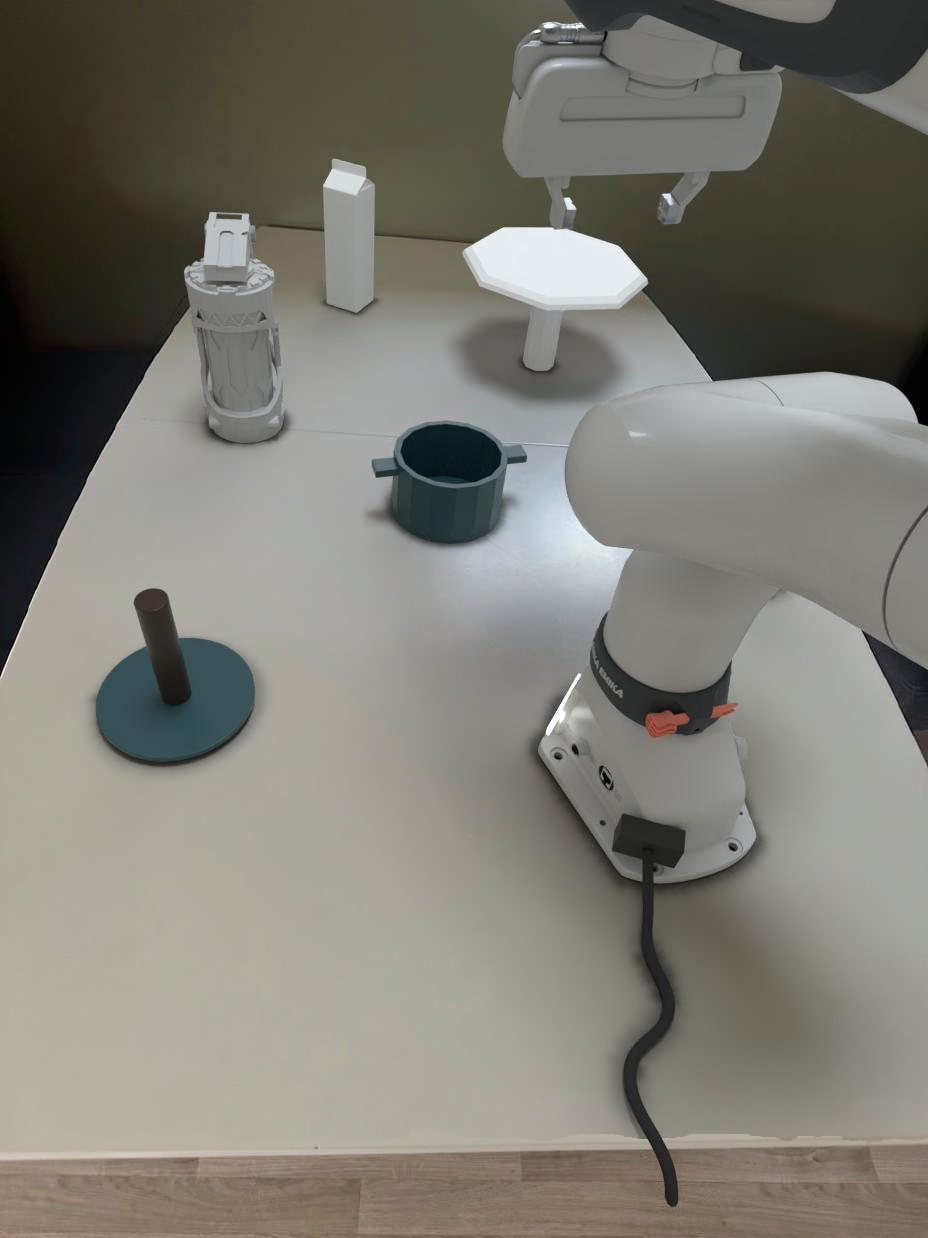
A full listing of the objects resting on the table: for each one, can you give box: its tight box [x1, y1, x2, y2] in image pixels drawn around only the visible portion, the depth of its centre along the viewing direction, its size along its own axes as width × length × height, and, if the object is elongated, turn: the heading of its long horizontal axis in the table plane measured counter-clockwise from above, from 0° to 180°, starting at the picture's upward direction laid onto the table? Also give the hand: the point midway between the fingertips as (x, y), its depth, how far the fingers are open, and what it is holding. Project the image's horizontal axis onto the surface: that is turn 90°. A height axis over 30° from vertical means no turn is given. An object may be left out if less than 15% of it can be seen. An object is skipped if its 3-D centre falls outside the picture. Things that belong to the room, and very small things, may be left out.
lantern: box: [183, 211, 286, 444], centre depth 102 cm, size 13×10×25 cm
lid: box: [95, 587, 256, 762], centre depth 73 cm, size 15×15×14 cm
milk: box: [322, 158, 376, 314], centre depth 130 cm, size 6×6×22 cm
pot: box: [371, 420, 528, 544], centre depth 99 cm, size 14×19×8 cm
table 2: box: [461, 226, 649, 372], centre depth 124 cm, size 28×28×17 cm
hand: (614, 222), depth 65 cm, fingers open, 8 cm apart
